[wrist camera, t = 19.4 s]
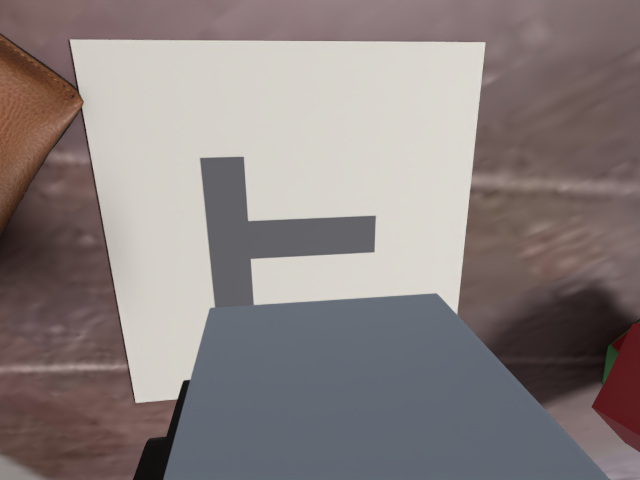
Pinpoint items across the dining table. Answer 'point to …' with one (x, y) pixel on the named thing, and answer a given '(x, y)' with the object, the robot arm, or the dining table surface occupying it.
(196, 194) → the letter mat
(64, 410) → the dining table surface
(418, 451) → the blue cube
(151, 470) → the robot arm
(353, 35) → the dining table surface
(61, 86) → the sunglasses case
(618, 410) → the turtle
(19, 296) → the dining table surface
